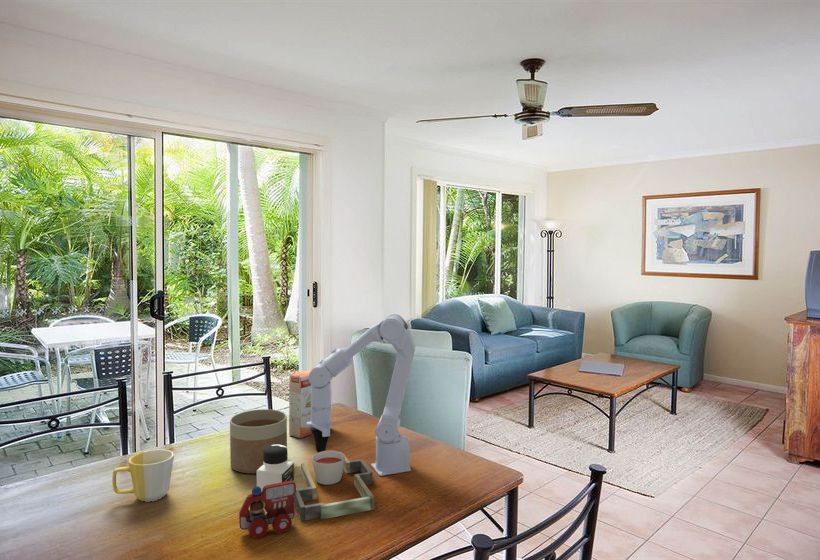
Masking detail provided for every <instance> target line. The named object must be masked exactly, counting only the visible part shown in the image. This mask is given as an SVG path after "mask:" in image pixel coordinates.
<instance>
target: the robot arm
mask: <svg viewBox="0 0 820 560" xmlns="http://www.w3.org/2000/svg"><path fill="white" fill-rule="evenodd" d="M383 340H385V341H386V342H388V343H389V344H391V346H392V347H393V348H394V350H395V351H396V353H397V355H396V359H395V363H394V367H393V372H392V376H391V380H390V383H389V384H390V385H389V388H388V393H387V396H386V401H385V405H384V409H383V413H382V414H381V415H380V418H379V421H378V424H377V425H376V426H375V462H373V463H371V464H370V466H371V467H372V469H373V470H374V471H375V472H376V473H377V474H378V476H379V477H382V476H383V477H384V476H388V475H394V474H400V473H406V472H407V473H408V472H411V471H412V469H411V446H410V441H409V439H408V437H407V436H406V435H401V433H400V432H399V430H400V428H401V425H402V419H401V410H402V406H403V402H404V397H405V394H406V388H407V384H408V380H409V376H410V373H411V369H412V364H413V359H414V355H415V351H416V344H415V342H414V339H413V336H412V334H411V331H410V327H409V324H408V323H407V322H406V320H405V319H404V318H403V317H402V316H401V315H400V314H390V315H388V316H386V318H385V319H382V320H380V321H378V322H377V323H375V324H373V325H372V326H371V327H369V328H368V329H367V330H365V332H364V333H362V334H361V335H360V336H359V337H358V338H356V339H355V340H354V341H353V342H352V343H350V344H349V345H348V346H347V347H339V348H334V349H333V350H332V351H331V354H330V355H328V356H327V357H326V358H325V359H321V360H320V361H319V362H318V365H316V366H314V367H313V368H311V369H312V371H311V372H310V374H309V382H310V383H311V421H310V422H307V426H312V427H311V428H310V430H311V432H312V434H311V435H312V437H313V440H314V446H315V451H316V453H319V452H322V451H327V444H328V442H329V438H330V437H331V434H332V433H333V431H332V429H331V426H332V424H333V423H332V389H331V387H332V386H331V385H332V384H331V383H332V382H331V381H332V379H333V378H336V377H337V376H338V375H339V374H340V373H342V372H343V371H344V370H345V369H347V368H349V366H350V365H352V364H353V359H354V358H353V357H354V356H356V355H358V353H360V352H362V351H363V349H365V348H366V347H368V346H369V345H370V344H371V343H373V342H382V341H383Z"/></svg>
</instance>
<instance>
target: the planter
mask: <svg viewBox="0 0 820 560" xmlns="http://www.w3.org/2000/svg"><path fill="white" fill-rule="evenodd" d="M277 444H278V445H283V446H286V447H287V448H288V419H287V413H286V412H284V411H281V410H278V409H271V408H270V409H268V408H267V409H266V408H264V409H253V410H252V409H251V410H247V411H243V412H240V413H239V412H238V413H236V414H235V415H233V416H232V417H231V418H230V419H229V445H230V448H229V449H230V450H229V451H230V467H231V469H233V470H234V471H236V472H239V473H243V474H257V470H258V469H259V468H260V467H261V466H262V465H264V464H263V450H264V449H265V448H266V447H268V446H271V445H277Z"/></svg>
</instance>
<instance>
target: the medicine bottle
mask: <svg viewBox="0 0 820 560" xmlns="http://www.w3.org/2000/svg"><path fill="white" fill-rule="evenodd" d="M288 460H289V459H288V446H287V447H286V446H283V445H278V444H277V445H271V446H268V447H266V448H265V449H264V450H263V464H264V465H262V466H261V467H260V468H259V469H258V470H257V473H256V486H258V487H260V488H261V492H262V490H263V487H264V486H266V485H270V484H276V483H281V482H286V481H294V482H295V462H294V461H291V460H290V461H288Z"/></svg>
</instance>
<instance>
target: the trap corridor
mask: <svg viewBox="0 0 820 560" xmlns="http://www.w3.org/2000/svg"><path fill="white" fill-rule="evenodd" d="M343 472H345V473H346V474H350V473H354V474H353V480H354V481H353V486H354V487H355V489H356V490H357V492H358V494H359V495H360V496H361V497H358V498H351V499H347V500H341V501H336V502H329V503H324V502H323V501H322V502H319V503H312V504H307V505H305V504H304V503H305V502H309V501H316V500H317V486H316V484H315V482H314V479H313V478H312V476H311V474H310V472H309V470H308V468H307V466H306V464H305V462H303V463H300V475H301V478H302V480H303V482H304V485H305V486H306V487H302V488H297V489H296V493H295V494H294V507H295V508H296V511H297V513H298V516H299V519H300V521H303V520H305V521H310V520H314V519H319V518H320V520H325V519H331V518H335V517H341V516H348V515H353V514H357V513H363V512H367V511H373V510H375V496H374V495H373V493H372V492H371V490H370V489H369V488H368V486H369V485H371V484H373V480H374V478H373V474H374V473H373V471H372V469H371V468H370V466H368V464H367V463H366V462H365V460H364V459H353V460H349V459H348V458H347V457H346V456H345V462H344V467H343ZM357 472H360V473H357ZM355 473H356V474H355Z"/></svg>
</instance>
